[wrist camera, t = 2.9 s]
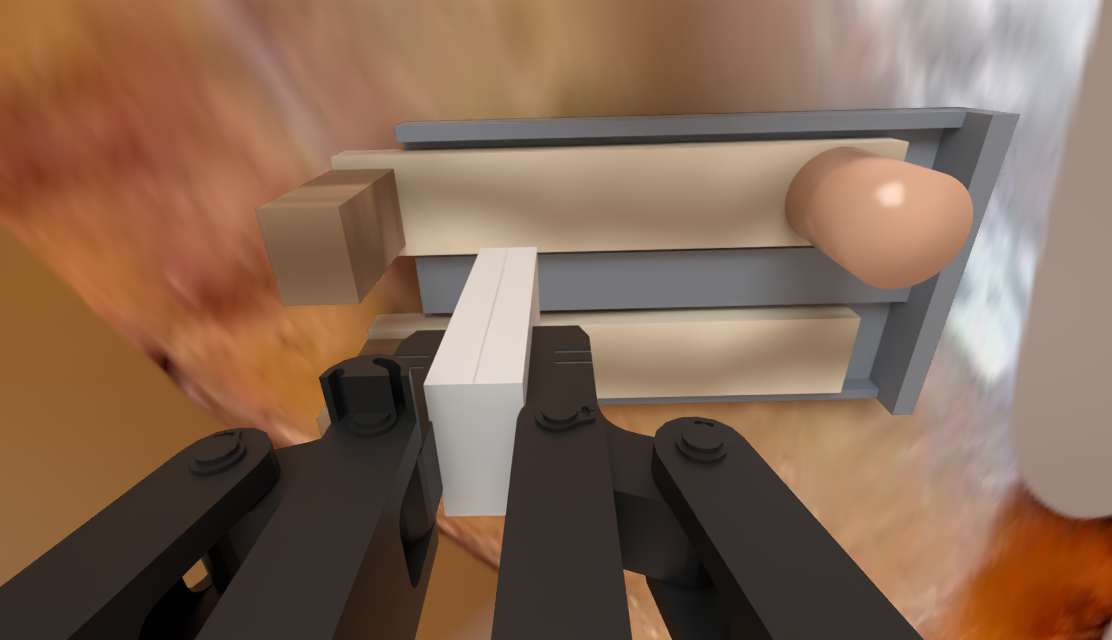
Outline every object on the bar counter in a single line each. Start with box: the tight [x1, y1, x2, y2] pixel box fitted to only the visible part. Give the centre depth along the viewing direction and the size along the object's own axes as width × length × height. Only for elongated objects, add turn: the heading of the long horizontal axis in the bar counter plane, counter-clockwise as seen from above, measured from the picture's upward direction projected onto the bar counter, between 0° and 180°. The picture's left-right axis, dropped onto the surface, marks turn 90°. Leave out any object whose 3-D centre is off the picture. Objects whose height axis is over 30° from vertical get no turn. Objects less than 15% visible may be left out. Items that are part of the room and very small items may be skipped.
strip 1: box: [255, 136, 909, 306], centre depth 19 cm, size 4×23×8 cm, turn 91°
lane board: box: [394, 107, 1020, 415], centre depth 24 cm, size 14×24×3 cm, turn 91°
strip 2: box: [316, 303, 861, 437], centre depth 23 cm, size 4×23×8 cm, turn 91°
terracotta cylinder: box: [785, 146, 973, 289], centre depth 19 cm, size 4×4×5 cm
